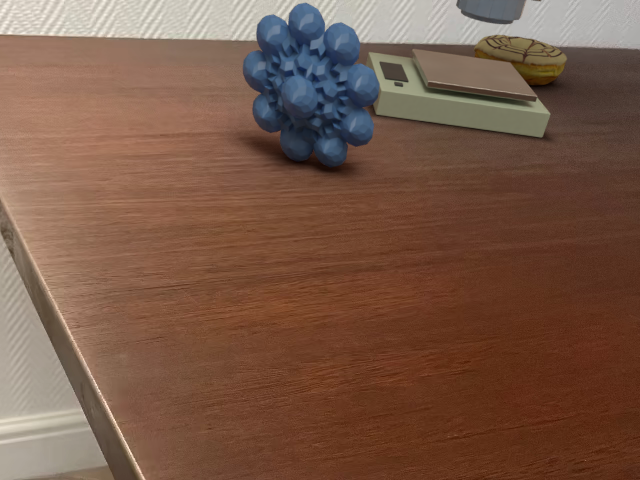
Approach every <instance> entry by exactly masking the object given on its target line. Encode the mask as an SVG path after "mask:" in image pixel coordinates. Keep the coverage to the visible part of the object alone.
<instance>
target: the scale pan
mask: <svg viewBox="0 0 640 480" xmlns="http://www.w3.org/2000/svg"><path fill="white" fill-rule="evenodd" d="M410 55H411V56H412V57H411V58H413V59H414V61H415V63H416V65H417V67H418V69H419V71H420V74H421V76H422V78H423V80H424V82H425V84H426V86H427V87H430V88H437V89H444V90H451V91H459V92H466V93H473V94H480V95H487V96H494V97H501V98H508V99H516V100H523V101H530V102H536V100H537V98H538V95H537V93H536V92H534V90H533V89H532V87H530V85H528V84H527V83H526V82H525V80H524V79H523V78H522V77H521V75H520V74H519V73H518V72H517V70H516V69H515V68H514V67H513V66H512V64H511V63H510V62H503V61H496V60H489V59H482V58H475V56H468V55H467V56H466V55H461V54H454V53H453V54H452V53H447V52H439V51H431V50H425V49H418V48H412V49H411V53H410Z"/></svg>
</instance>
